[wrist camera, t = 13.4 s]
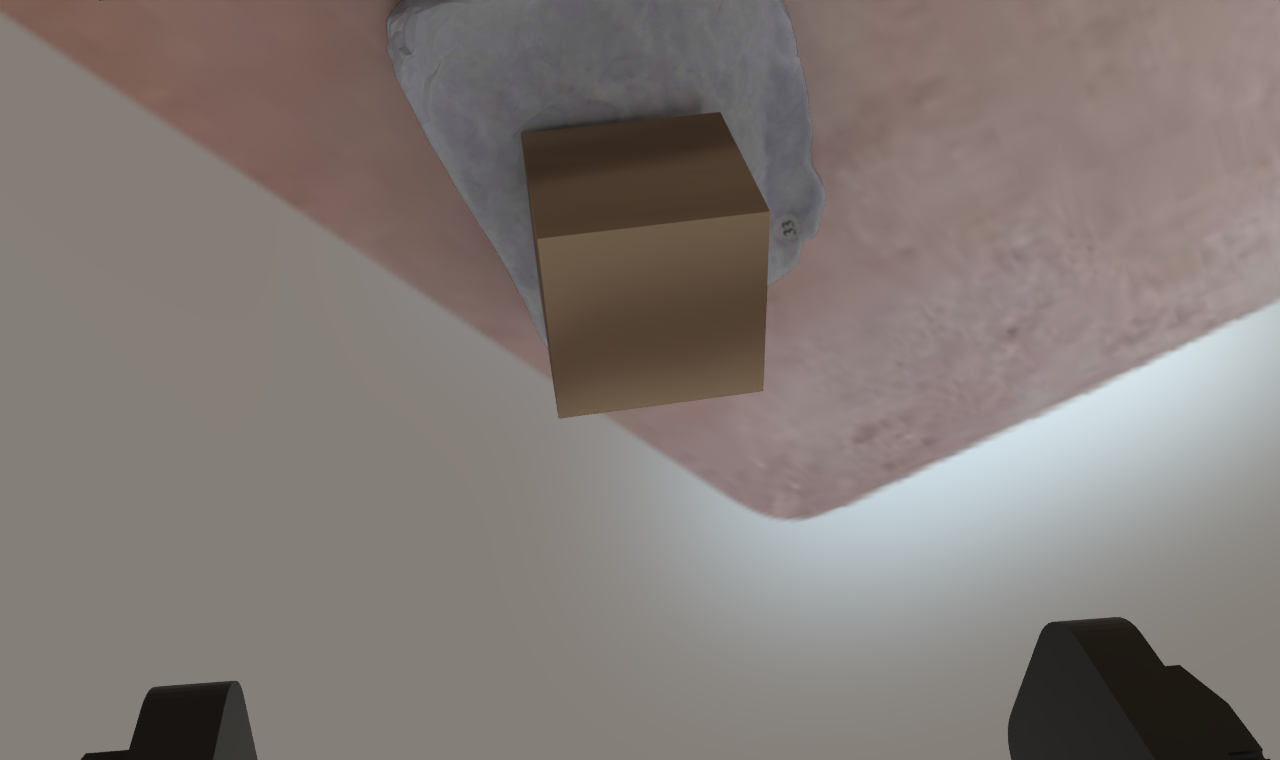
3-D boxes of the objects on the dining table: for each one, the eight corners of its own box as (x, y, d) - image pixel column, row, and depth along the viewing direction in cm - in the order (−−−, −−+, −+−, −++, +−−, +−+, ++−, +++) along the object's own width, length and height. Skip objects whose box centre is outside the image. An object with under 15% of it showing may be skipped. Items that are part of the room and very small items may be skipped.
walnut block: (520, 133, 26) (537, 239, 22) (720, 112, 27) (770, 211, 23) (540, 301, 29) (558, 418, 26) (719, 279, 30) (762, 391, 26)
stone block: (670, -174, 29) (344, 9, 28) (747, -165, 25) (369, 49, 24) (803, 190, 36) (543, 345, 35) (879, 243, 32) (589, 418, 31)
